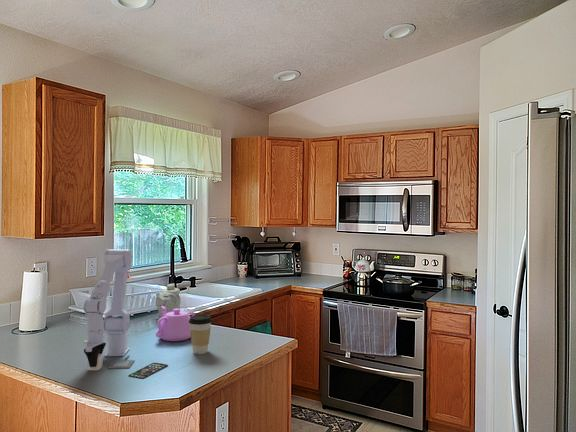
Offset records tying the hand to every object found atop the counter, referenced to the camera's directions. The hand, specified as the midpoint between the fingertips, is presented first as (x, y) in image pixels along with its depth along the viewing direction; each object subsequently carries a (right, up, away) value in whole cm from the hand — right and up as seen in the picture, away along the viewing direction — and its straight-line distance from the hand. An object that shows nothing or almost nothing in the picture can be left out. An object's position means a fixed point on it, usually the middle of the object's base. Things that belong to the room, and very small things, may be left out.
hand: (95, 364), depth 170 cm
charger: (0, -1, 0) cm, 1 cm away
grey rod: (+8, -1, +11) cm, 14 cm away
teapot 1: (+6, 0, +78) cm, 78 cm away
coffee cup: (+36, -2, +20) cm, 42 cm away
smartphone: (+21, -2, -2) cm, 21 cm away
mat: (+9, -1, +4) cm, 10 cm away
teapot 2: (+20, -1, +42) cm, 46 cm away
